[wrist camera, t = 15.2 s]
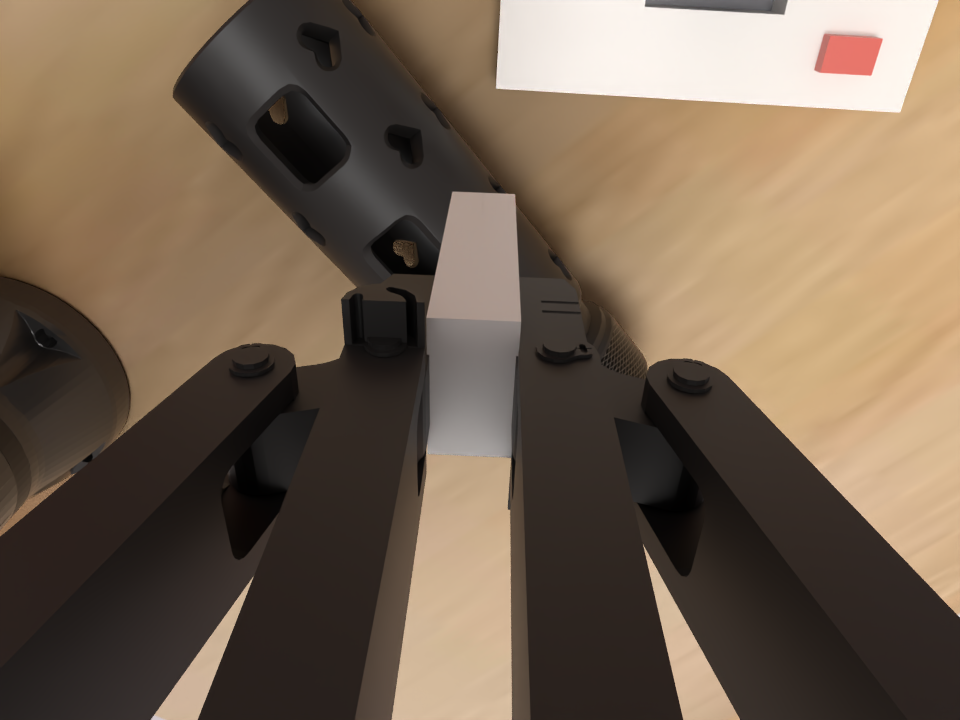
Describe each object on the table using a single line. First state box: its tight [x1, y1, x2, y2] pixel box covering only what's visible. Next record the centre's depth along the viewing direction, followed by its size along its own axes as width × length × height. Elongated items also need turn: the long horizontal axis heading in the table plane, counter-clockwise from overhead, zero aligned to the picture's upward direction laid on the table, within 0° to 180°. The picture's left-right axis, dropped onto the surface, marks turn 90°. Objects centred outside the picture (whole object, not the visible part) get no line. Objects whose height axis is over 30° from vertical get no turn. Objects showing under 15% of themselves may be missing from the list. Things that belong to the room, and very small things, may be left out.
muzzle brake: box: [173, 0, 648, 379], centre depth 37 cm, size 10×28×10 cm, turn 39°
